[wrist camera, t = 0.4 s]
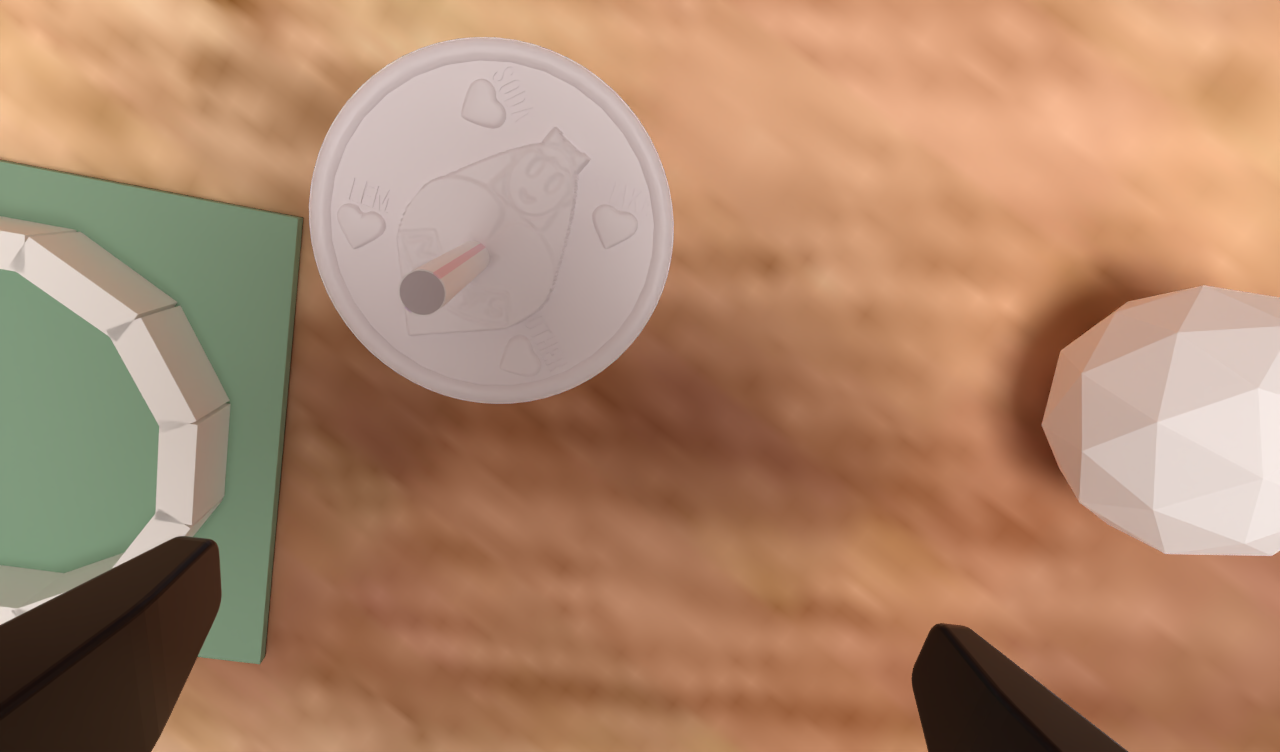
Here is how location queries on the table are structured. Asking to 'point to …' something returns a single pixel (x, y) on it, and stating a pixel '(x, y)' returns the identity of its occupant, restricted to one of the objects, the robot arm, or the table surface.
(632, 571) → the table surface
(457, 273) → the smoothie
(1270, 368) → the geometric ball
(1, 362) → the green square ring tray
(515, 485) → the table surface
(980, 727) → the robot arm
